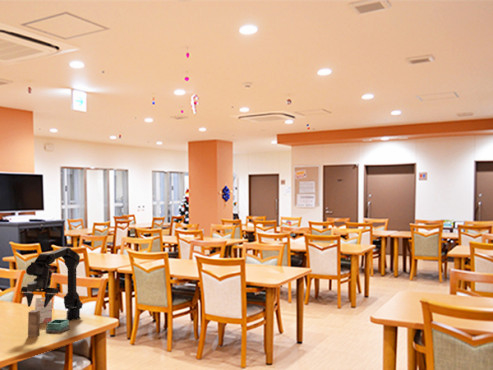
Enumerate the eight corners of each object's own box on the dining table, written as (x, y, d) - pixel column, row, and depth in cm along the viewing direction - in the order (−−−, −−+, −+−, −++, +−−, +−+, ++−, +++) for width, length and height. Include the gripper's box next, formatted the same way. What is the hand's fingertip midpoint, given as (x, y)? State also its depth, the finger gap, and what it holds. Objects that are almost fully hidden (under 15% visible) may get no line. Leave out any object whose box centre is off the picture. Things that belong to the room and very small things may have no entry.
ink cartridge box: (52, 320, 251) (52, 295, 252) (50, 322, 247) (51, 297, 247) (36, 321, 249) (36, 296, 250) (34, 323, 244) (35, 298, 245)
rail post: (32, 334, 225) (32, 309, 225) (39, 334, 224) (40, 310, 225) (27, 336, 221) (28, 311, 221) (35, 337, 220) (35, 312, 221)
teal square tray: (53, 326, 240) (53, 318, 240) (73, 326, 239) (73, 318, 239) (41, 332, 228) (41, 324, 228) (62, 333, 227) (62, 324, 227)
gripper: (16, 275, 220) (10, 306, 216) (48, 276, 217) (43, 307, 213) (30, 276, 231) (24, 306, 226) (61, 278, 228) (56, 307, 223)
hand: (36, 307), depth 222 cm, fingers open, 9 cm apart
